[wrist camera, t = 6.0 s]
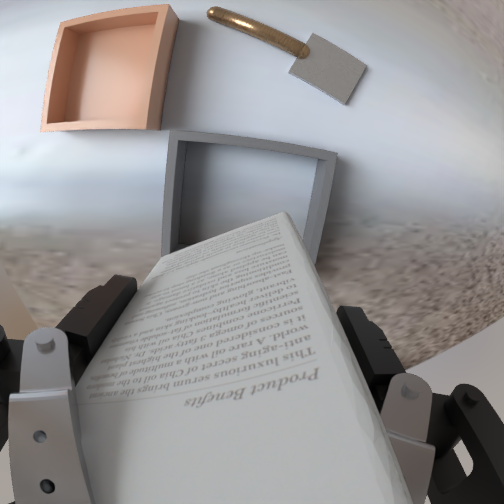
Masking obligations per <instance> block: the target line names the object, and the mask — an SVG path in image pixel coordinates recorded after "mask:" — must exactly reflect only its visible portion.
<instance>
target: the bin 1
mask: <svg viewBox="0 0 504 504" xmlns="http://www.w3.org/2000/svg"><path fill="white" fill-rule="evenodd" d="M178 23H179V18H178V17H177V15H176V14H175V12H174V11H173V9H172V8H171V6H170V5H169V4H163V5H151V6H141V7H133V8H125V9H119V10H113V11H107V12H102V13H97V14H92V15H88V16H83V17H79V18H75V19H71V20H67V21H64V22H60V26H59V29H58V33H57V36H56V40H55V44H54V48H53V52H52V57H51V61H50V66H49V71H48V77H47V82H46V89H45V95H44V102H43V110H42V120H41V131H40V132H54V131H73V130H102V129H134V130H160V128H161V120H162V112H163V105H164V98H165V91H166V85H167V79H168V73H169V67H170V62H171V57H172V51H173V46H174V42H175V37H176V32H177V28H178Z"/></svg>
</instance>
